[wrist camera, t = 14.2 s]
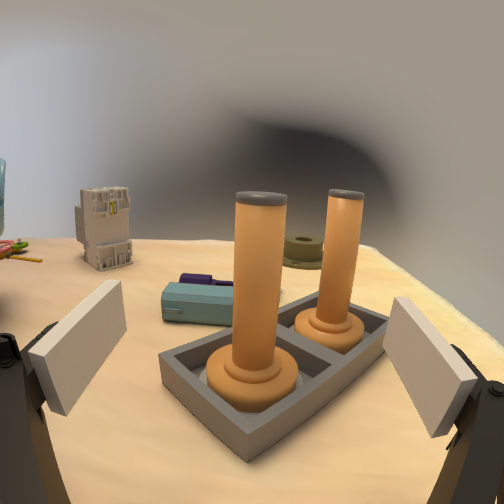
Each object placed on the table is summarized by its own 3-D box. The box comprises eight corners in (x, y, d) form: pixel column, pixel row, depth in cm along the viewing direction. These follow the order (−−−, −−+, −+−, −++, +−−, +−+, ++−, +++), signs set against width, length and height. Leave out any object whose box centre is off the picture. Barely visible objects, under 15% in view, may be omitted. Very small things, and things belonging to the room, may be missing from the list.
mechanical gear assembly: (-9, 246, 67) (-44, 263, 52) (-11, 232, 65) (-47, 248, 51) (61, 253, 64) (21, 277, 50) (59, 236, 63) (17, 257, 49)
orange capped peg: (336, 366, 29) (363, 198, 25) (279, 336, 35) (291, 187, 30) (372, 337, 35) (396, 196, 30) (320, 315, 40) (334, 186, 36)
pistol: (277, 289, 53) (283, 333, 39) (186, 283, 53) (161, 324, 39) (279, 266, 52) (286, 304, 37) (186, 260, 52) (159, 295, 38)
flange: (281, 228, 77) (258, 241, 64) (342, 237, 72) (332, 253, 58) (280, 247, 78) (257, 263, 65) (340, 256, 73) (329, 276, 60)
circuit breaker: (104, 248, 69) (101, 185, 65) (132, 263, 60) (129, 188, 56) (76, 254, 63) (71, 188, 59) (100, 271, 55) (94, 191, 50)
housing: (246, 462, 19) (248, 434, 18) (162, 382, 27) (158, 353, 27) (390, 344, 35) (397, 320, 34) (315, 313, 43) (319, 290, 42)
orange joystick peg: (248, 427, 21) (261, 204, 17) (189, 377, 27) (183, 191, 22) (313, 384, 27) (339, 199, 22) (253, 349, 32) (262, 187, 28)
